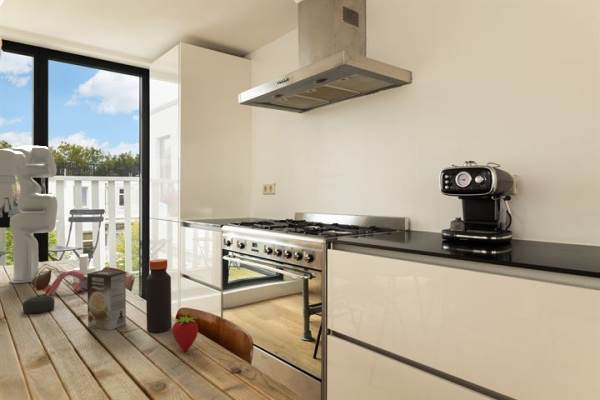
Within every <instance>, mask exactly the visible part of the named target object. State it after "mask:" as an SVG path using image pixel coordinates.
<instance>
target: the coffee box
mask: <svg viewBox="0 0 600 400" xmlns="http://www.w3.org/2000/svg"><path fill="white" fill-rule="evenodd" d="M126 273H127V272H126V271H122V270H121V271H120V270H111V269H100V270H98V271H96V270H95V272H92V273H88V274H87V290H86V291H87V327H88V328H92V329H93V328H94V329H98V330H99V329H100V330H106V331H107V330H108V331H112V330H114V329H117V328H119V327H121V326H124V325H126V324H127V317H126V316H127V314H126V313H127V307H126V304H127V302H126V301H127V300H126V297H127V295H126V294H127V293H126V292H127V291H126V289H127V288H126V287H127V286H126V285H127V284H126V281H127V280H126Z"/></svg>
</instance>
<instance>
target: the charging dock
mask: <svg viewBox="0 0 600 400" xmlns="http://www.w3.org/2000/svg"><path fill="white" fill-rule="evenodd" d="M84 276H85V280H84V281H81V280H80V279H79V284H80V285H81V286H82V289H84V290H86V291H87V275H85V274H84Z"/></svg>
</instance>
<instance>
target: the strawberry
mask: <svg viewBox="0 0 600 400" xmlns="http://www.w3.org/2000/svg"><path fill="white" fill-rule="evenodd" d="M188 313H189V311H187V312H186V314H185V316H179V319H175V320H174V321H175V322H174V324H173V325H172V328H171V329H172V334H173V339H174V340H175V342H176V343H177V345H178V346H179V348H180V349H181V350H182V351H183V352H188V351H189V349H190V348H191V346H192V345H193V344H194V342H195V341H196V339H197V336H198V332H199V325H198V324H197V321H196V320H194V319H198V317H197V316H196V317H195V316H194V317H191V316H190V317H188V316H187V315H188Z"/></svg>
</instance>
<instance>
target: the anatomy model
mask: <svg viewBox="0 0 600 400" xmlns="http://www.w3.org/2000/svg"><path fill="white" fill-rule="evenodd" d="M45 266H46V267H45ZM47 266H48V267H47ZM43 267H44V268H43ZM49 267H51V268H49ZM42 268H43V269H42ZM41 269H42V270H41ZM45 269H47V270H48V271H47V272H44V273H43V271H44V270H45ZM40 270H41V271H40ZM38 271H40V272H39V275H38V276H37V277H36V275H35V277H34V279H33V280H32V281H31V282H30V285H31V287H32V288H33V290H34V291H36V292H41V291H42V292H44V293H46V297H50V295H51V294H54V293H55V292H56V291H58V289H59V287H60V285H61V283H62V281H63V280H64V281H65V282H63V283H62V285H65V283H66V286H71V287H72V288H73V289H74V290H76V291H78V292H81V291H83V288H82V286H81V285H80V284H79V283H76V282H74V283H73V279H72V280H71V279H68V280H67V279H66V278H65V277H69V276H72V277H73V276H74V277H77V278H78V279H80V280H81V281H84V280H85V276H84V274H83V273H82V272H81V273H79V272H76V271H73V269H72V270H71V269H70V270H69V269H68V270H65V271H62V272H60V270H59V269H58V268H57V267H55V266H53V265H50V264H47V263H44V264H43V265H41V266H40V267H39V270H38ZM38 271H37V273H38ZM52 271H57V272H58V275H57V277H56V278H55V280H54V281H53V282H52V284H50V282H51V278H52ZM37 273H36V274H37ZM71 282H72V283H71Z"/></svg>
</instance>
